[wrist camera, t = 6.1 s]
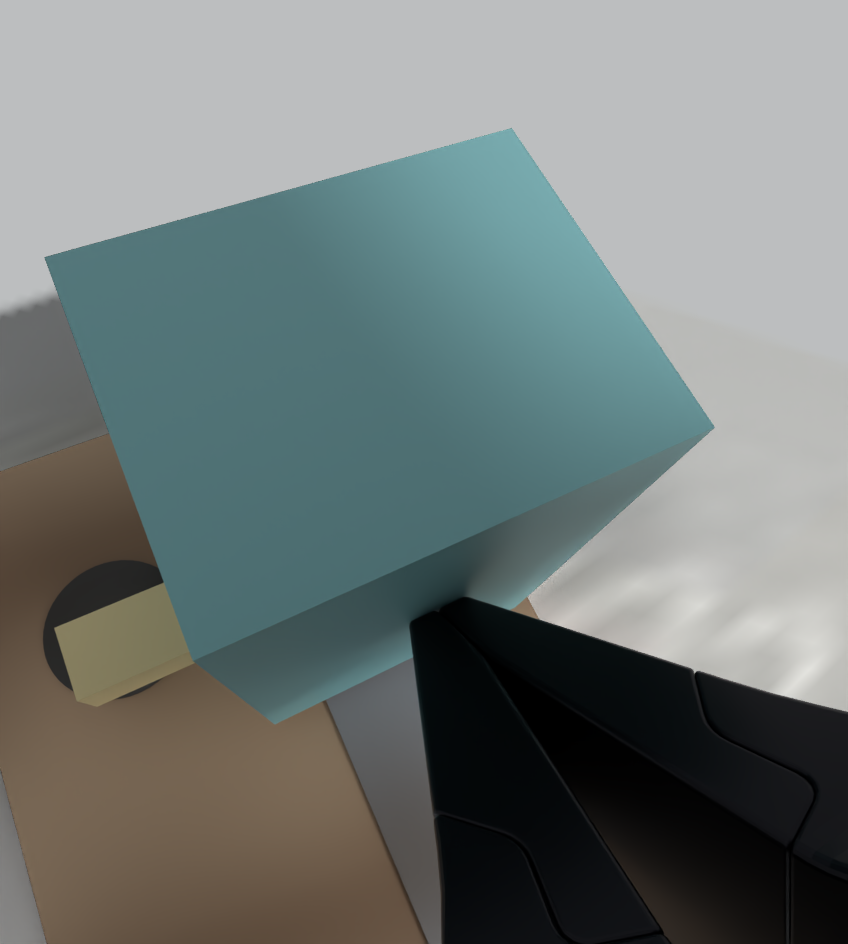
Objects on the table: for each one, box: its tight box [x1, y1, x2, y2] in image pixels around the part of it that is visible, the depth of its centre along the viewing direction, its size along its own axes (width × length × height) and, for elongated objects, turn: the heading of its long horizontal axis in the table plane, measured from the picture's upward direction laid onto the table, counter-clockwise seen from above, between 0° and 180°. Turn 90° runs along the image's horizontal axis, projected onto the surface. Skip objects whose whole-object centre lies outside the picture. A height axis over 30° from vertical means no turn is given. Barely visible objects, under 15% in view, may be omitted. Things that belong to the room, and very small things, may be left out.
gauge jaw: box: [45, 128, 715, 724], centre depth 10 cm, size 4×7×8 cm, turn 116°
